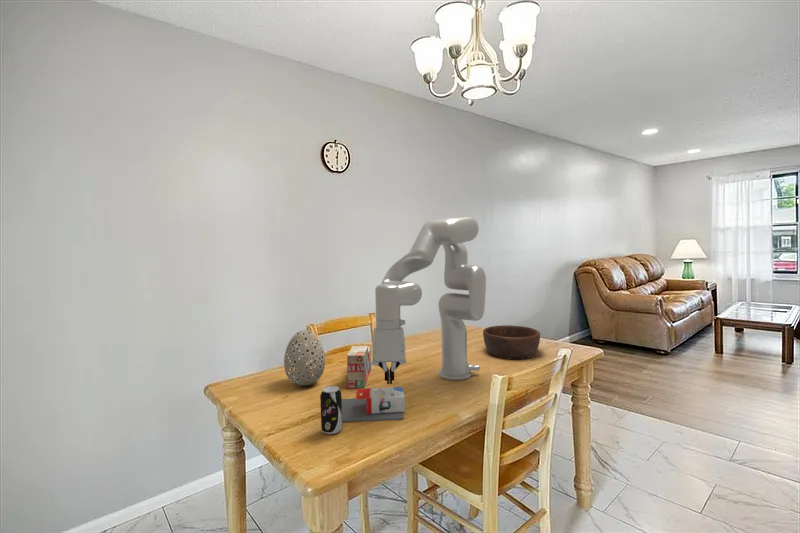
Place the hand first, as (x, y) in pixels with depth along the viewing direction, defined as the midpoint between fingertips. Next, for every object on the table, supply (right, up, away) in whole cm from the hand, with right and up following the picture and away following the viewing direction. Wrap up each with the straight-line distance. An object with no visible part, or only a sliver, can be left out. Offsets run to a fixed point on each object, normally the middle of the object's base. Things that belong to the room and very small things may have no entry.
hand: (389, 382), depth 122 cm
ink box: (+5, -5, +1) cm, 7 cm away
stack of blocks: (-12, -7, +29) cm, 32 cm away
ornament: (-31, -8, +23) cm, 40 cm away
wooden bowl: (+54, -4, +57) cm, 79 cm away
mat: (-6, -8, 0) cm, 10 cm away
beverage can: (-16, -10, -13) cm, 22 cm away
